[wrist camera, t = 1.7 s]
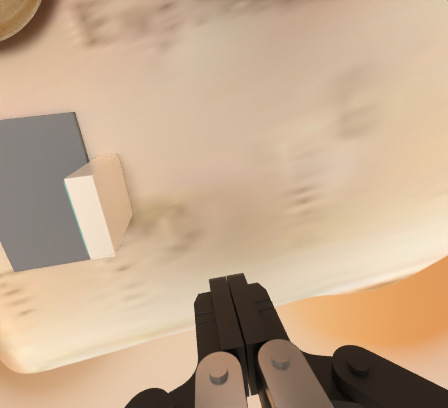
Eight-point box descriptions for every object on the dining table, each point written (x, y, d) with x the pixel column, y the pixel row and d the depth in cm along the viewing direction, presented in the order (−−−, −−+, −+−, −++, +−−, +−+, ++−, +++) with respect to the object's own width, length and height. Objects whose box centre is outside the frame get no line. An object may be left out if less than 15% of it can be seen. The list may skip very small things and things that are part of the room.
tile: (95, 156, 28) (60, 179, 20) (117, 153, 28) (91, 175, 20) (112, 217, 30) (87, 260, 22) (132, 214, 31) (115, 255, 22)
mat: (-49, 125, 25) (-54, 125, 24) (74, 112, 26) (72, 112, 26) (17, 269, 31) (14, 272, 30) (115, 252, 32) (114, 255, 31)
